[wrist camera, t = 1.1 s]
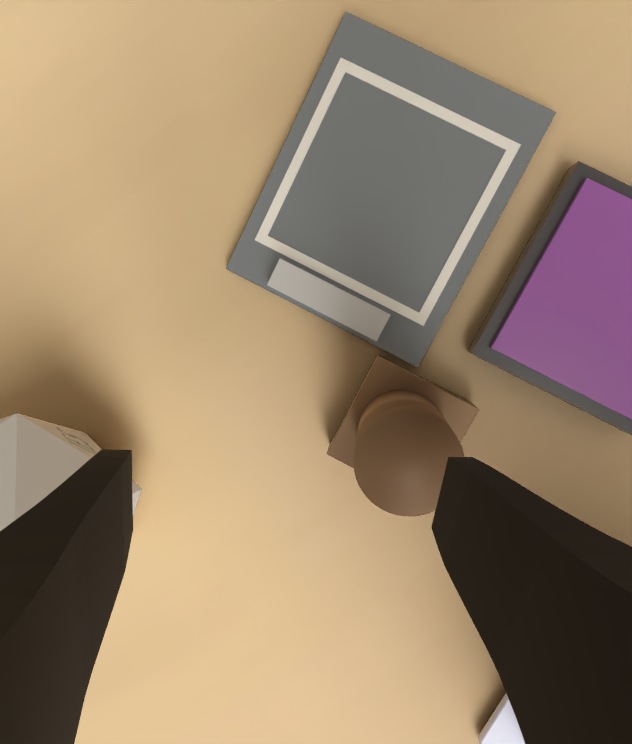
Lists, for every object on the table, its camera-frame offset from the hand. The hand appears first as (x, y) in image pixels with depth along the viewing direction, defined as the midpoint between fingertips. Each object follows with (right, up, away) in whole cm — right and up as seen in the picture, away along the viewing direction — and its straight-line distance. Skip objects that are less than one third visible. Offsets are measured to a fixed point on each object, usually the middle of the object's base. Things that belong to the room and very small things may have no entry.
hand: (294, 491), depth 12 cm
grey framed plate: (+3, +10, +9) cm, 14 cm away
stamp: (+4, 0, +10) cm, 11 cm away
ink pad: (+12, +5, +9) cm, 16 cm away
